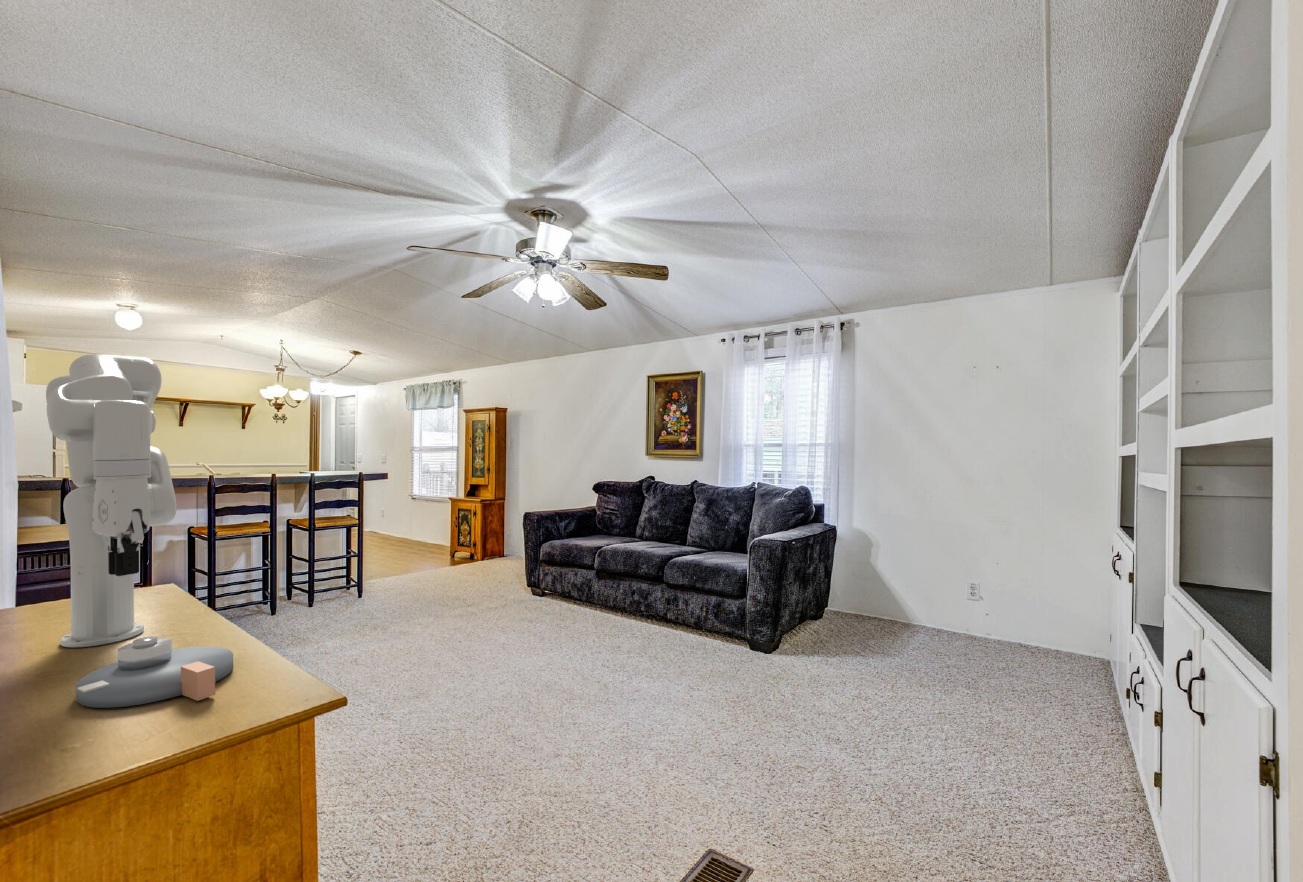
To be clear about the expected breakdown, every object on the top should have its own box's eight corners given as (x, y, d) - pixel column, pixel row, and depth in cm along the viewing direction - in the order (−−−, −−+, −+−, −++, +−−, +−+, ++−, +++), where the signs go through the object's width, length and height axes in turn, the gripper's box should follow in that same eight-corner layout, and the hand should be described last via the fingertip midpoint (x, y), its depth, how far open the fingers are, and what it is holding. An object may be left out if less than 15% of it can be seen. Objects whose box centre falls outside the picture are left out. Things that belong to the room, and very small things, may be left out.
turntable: (53, 691, 94) (53, 664, 93) (197, 650, 111) (197, 627, 111) (125, 726, 82) (125, 695, 82) (272, 674, 100) (272, 648, 100)
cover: (109, 666, 99) (109, 642, 99) (159, 652, 105) (159, 630, 105) (129, 674, 95) (129, 649, 95) (179, 659, 102) (179, 636, 102)
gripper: (75, 470, 104) (76, 573, 104) (116, 472, 96) (117, 583, 96) (128, 468, 110) (129, 565, 110) (170, 470, 103) (171, 574, 103)
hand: (123, 573), depth 103 cm, fingers closed
